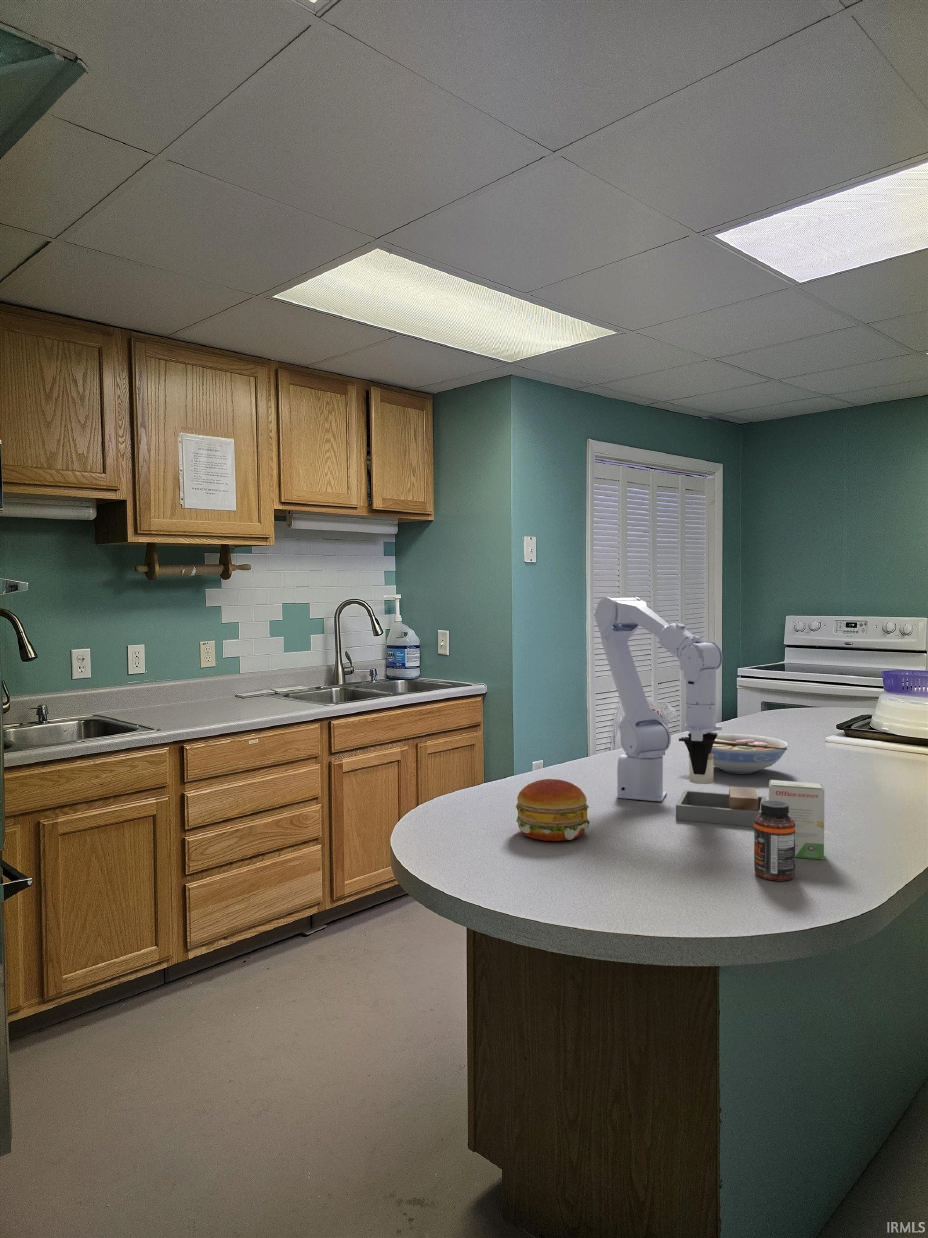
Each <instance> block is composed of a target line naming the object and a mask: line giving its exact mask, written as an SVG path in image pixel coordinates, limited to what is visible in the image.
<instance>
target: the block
mask: <svg viewBox="0 0 928 1238" xmlns="http://www.w3.org/2000/svg"><path fill="white" fill-rule="evenodd" d="M728 794H729V808H728V809H739V810H750V811H758V796H759V795H758V793H757V790H756V787H742V786H741V787H739V786H728Z"/></svg>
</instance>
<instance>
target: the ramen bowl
mask: <svg viewBox="0 0 928 1238" xmlns="http://www.w3.org/2000/svg"><path fill="white" fill-rule="evenodd" d="M685 737H686V736H685ZM685 737H684V736H681V737H680V738H678V742H684V738H685ZM788 745H789V744H788V742H787V741H785V740H782V739H779V738H776V737H775V738H774V737H771V736H770V737H769V736H763V735H754V734H744V733H743V734H742V733H739V734H738V733H717V737H716V739H715V741H714V743H713V747H712V750H711V753H712V754H714V759H713V767H716V768H718V769H721V770H722V771H723V772H725V773H726V772H727V773H730V774H738V775H750V774H751V775H752V774H754V773H755V772H757V771H761V770H764V769H766V768H770V767H772V766H773V765H774V764H776V763H777V762H779V760H780V759H781V758H782V756H783V755H784V754H785V752H786V751H787V750H788V747H789V746H788Z"/></svg>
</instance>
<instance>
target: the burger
mask: <svg viewBox="0 0 928 1238" xmlns="http://www.w3.org/2000/svg"><path fill="white" fill-rule="evenodd" d="M516 799H517V800H516V801H517V803H516V805H515V808H516V811H517V818H516V820H515V822H516V823H517V825H518V829H519V831H520V832H521V834H522V835H524V836H525V837H528V838H531V839H535V840H541V841H546V842H547V841H548V842H549V841H551V842H552V841H553V842H558V841H568V840H569V841H572V840H573V839H576V838H579V837H581V836H583V834H584V832H585V831H586V830H587V829H588V828H589V825H590V823H591V821H590V819H589V818H588V809H589V808H590V807H589V805H588V804H587V796H586V794H585V793H584V792H583V791H582V789H581V788H580V787H579V786H577V785H575V784H573V783H572V782H570V781H567V780H563V779H559V778H558V779H557V778H555V779H554V778H545V779H538V780H536V781H532V782H531V783H527V785H525V786H524V787H523V788H522V789H521V790H520V791H519V792H518V794H517V798H516Z"/></svg>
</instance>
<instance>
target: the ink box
mask: <svg viewBox="0 0 928 1238" xmlns="http://www.w3.org/2000/svg"><path fill="white" fill-rule="evenodd" d="M768 800H775V801H782V802H785V803H787V804H788V805H789V813H788V816H790V817H791V818H792V819H793V820H794V821H795V858H799V859H813V860H825V859H824V858H825V788H824V785H823V784H822V783H815V782H806V781H805V782H804V781H802V782H801V781H790V780H778V779H769V782H768Z"/></svg>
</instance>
